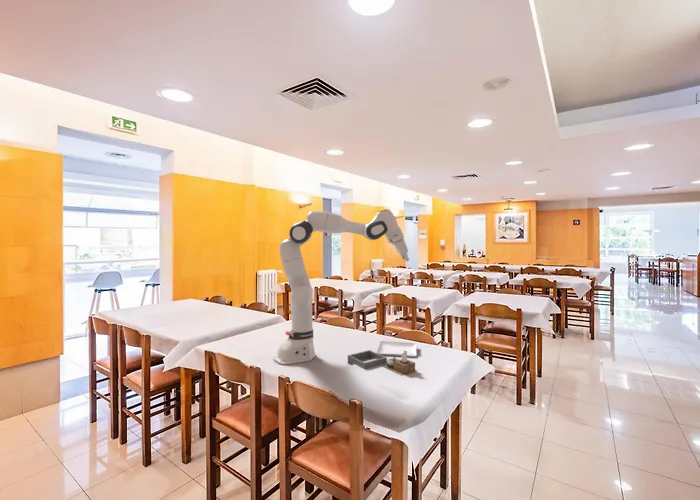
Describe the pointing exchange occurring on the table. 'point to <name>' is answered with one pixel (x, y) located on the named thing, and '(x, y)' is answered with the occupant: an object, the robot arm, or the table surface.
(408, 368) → the pulley bracket
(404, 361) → the lock pin
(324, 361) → the table surface
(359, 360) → the tray
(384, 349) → the salad plate
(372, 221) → the robot arm
